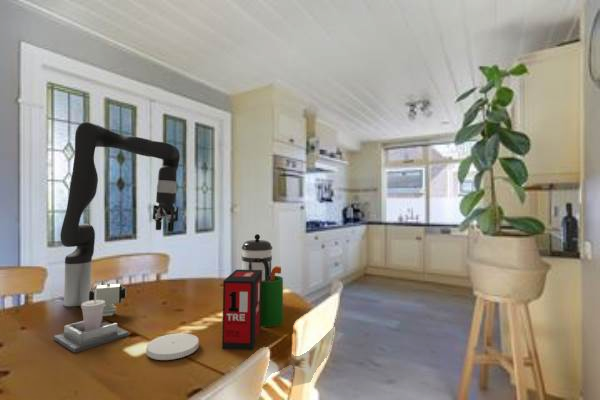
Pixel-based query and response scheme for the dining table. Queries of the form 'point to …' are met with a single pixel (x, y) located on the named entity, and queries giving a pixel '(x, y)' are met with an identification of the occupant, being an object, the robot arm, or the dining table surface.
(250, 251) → the coffee press
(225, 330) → the cleaning product box
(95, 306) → the smoothie
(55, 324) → the dining table surface
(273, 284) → the green cylindrical container
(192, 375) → the dining table surface
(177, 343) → the plastic lid
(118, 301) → the pneumatic valve
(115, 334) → the mount plate
